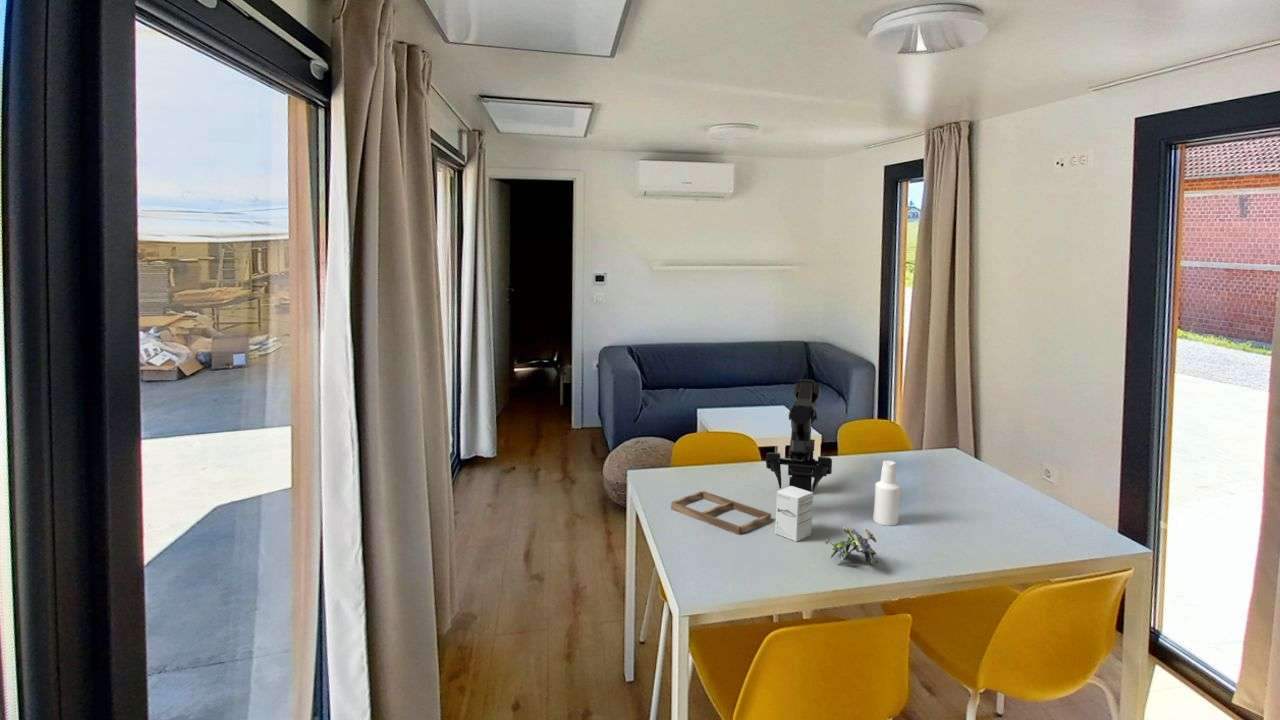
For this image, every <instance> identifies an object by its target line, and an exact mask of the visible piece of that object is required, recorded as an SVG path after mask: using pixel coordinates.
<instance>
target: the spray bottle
mask: <svg viewBox="0 0 1280 720" xmlns="http://www.w3.org/2000/svg"><path fill="white" fill-rule="evenodd" d="M880 473H881V475H880V480H879V481H877V482H875V483H874V500H873V517H872V520H873V522H875V523H876V524H878V525H882V526H886V527H887V526H888V527H891V526H892V527H893V526H896V525H897V524H898V523H899V513H900V512H899V511H900V498H901V497H900V496H901V485H900V484H899V483H897V482H896V480H897V476H896V475H897V474H896V473H897V470H896V462H895V461H893V460H888V459H887V460H883V462H882V468H881V472H880Z"/></svg>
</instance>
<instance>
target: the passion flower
mask: <svg viewBox="0 0 1280 720" xmlns="http://www.w3.org/2000/svg"><path fill="white" fill-rule="evenodd" d="M842 528H843V532H844V533H845V534H846V536H847V537H846V540H845V541H844V540H840V541H839V542H835V543H832V542H831V541H830V540H831V539H830V538H829V537H826V540H825V544H826V545H829V544H831V545H832V546H833V548H832V550H833V552H832V554H831V556H830V558H831V559H832V558H833V557H834V556H835V555H836V554H837V553H838V552H840V560H839V562H838V564H837V565H838V566H840V564H842V562H843V561H845V560H846V559H848V557H849V555H850V554H851V553H852V552H853V551H856V553H862V554H863V555H864V557H865V562H866V564H867V565H868V566H871V567H873V566H874V564H878V562H879V560H878V559H876V557H877V554H878V553H877V552H876V551H875V550H874V549H873V548H872V547H871V544H869V542H868V541H869V540H872V541H873V542H875V543H877V539H876V538H875V536H874V534H873V533H871V532H870V531H869V530H868V529H865V532H866V534H867V535H868V537H866V538H865V537H862V535H861V534H860V532H858V531H857V530H856V529H855V528H852V529H851V528H850V527H848V528H847V529H846V526H843V527H842ZM850 547H852V548H851V549H850ZM873 563H874V564H873Z"/></svg>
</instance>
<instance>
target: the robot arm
mask: <svg viewBox="0 0 1280 720" xmlns="http://www.w3.org/2000/svg"><path fill="white" fill-rule="evenodd" d="M820 395H821V386H820V384H818V383H817V382H815V380H813V379H803V378H801V379H799V380H798V382H796V383H794V389H793V397H794V398H795V401H793V403H792V407H790V408H789V412H788V420H789V421H790V428H791V433H790V434H791V435H790V440H789V441H790V443H789V444H790V445H789V447H788V458H787V457H781V452H772V451H771V452H767V453H766V454H765V466H766V469H769V470H770V472H773V473H774V474H775V477H776V480H777V484H778V488H779V490H782V471H781V470H782V468H781V465H784V466H787V476H789V480H788V481H789V484H788V485H789V486H794V487H797V488H800V489H803V490H807V491H810V492H813V493H814V492H815V490H816V488H817V486H818V485H819V483H820V481H822V480H821V479H822V478H824V477H827V476H828V475H832V473H833V458H831V457H830V456H829V457H827V456H818V457H817V460H816V458H814V451H815V439H812V437H811V436H812V425H813V423H814V422H816V420H818V415H819V414H818V412H817V409H815V408H816V407H817V405H818V399H821V398H820V397H821V396H820ZM812 479H813V482H812ZM789 486H788V487H789Z"/></svg>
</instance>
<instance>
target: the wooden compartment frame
mask: <svg viewBox="0 0 1280 720" xmlns="http://www.w3.org/2000/svg"><path fill="white" fill-rule="evenodd" d="M703 498H704V500H707V501H710V502H712V503H715V504H718V505H717V506H715V507H713V508H710V509H708V510H705V511H702V512H701V511H699V510H696V509H693V508H691V507H687V506H686V505H688V503H689V504H692V503H694V502H697V501H699V500H702V499H703ZM670 508H671V509H670V510H672V511H675V512H678V513H680V514H683V515H686V516H689V517H690V518H693V519H697V520H698V521H702V522H704V523H706V522H707V524H709V525H712V524H713V525H712V526H714V525H715V527H717V526H718V527H717V528H720V529H722V528H723V529H722V530H725V529H726V531H727V530H729V531H728V532H730V531H731V533H733V532H734V533H733V534H735V533H736V535H738V534H739V535H744V534H746V533H748V532H747V531H749V530H751V531H753V530H755V529H757V528H759V526H760V527H762V526H764V525H766V524H768V522H769V523H770V522H771V520H772V513H770V512H767V511H764V510H761V509H758V508H755V507H752V506H748V505H746V504H744V503H740V502H738V501H735V500H731V499H729V498H726V497H722V496H719V495H716V494H713V493H710V492H707V491H705V490H703V491H701V490H700V491H698V492H695V493H692V494H690V495H687V496H684V497H681V498H678V499H674V500H673V501H671V503H670ZM732 509H733V510H735V511H738V512H741V513H744V514H747V515H749V516H751V517H752V516H753V517H756V519H754V520H752V521H749V522H747V523H744V524H741V525H737V524H734V523H731V522H728V521H726V520H724V519H720V518H718V517H715V516H718V515H720V514H723V513H725V512H727V511H729V510H732ZM761 525H762V526H761ZM756 527H757V528H756ZM754 528H755V529H754ZM752 529H753V530H752ZM745 532H746V533H745ZM749 532H750V531H749ZM743 533H744V534H743Z"/></svg>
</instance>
